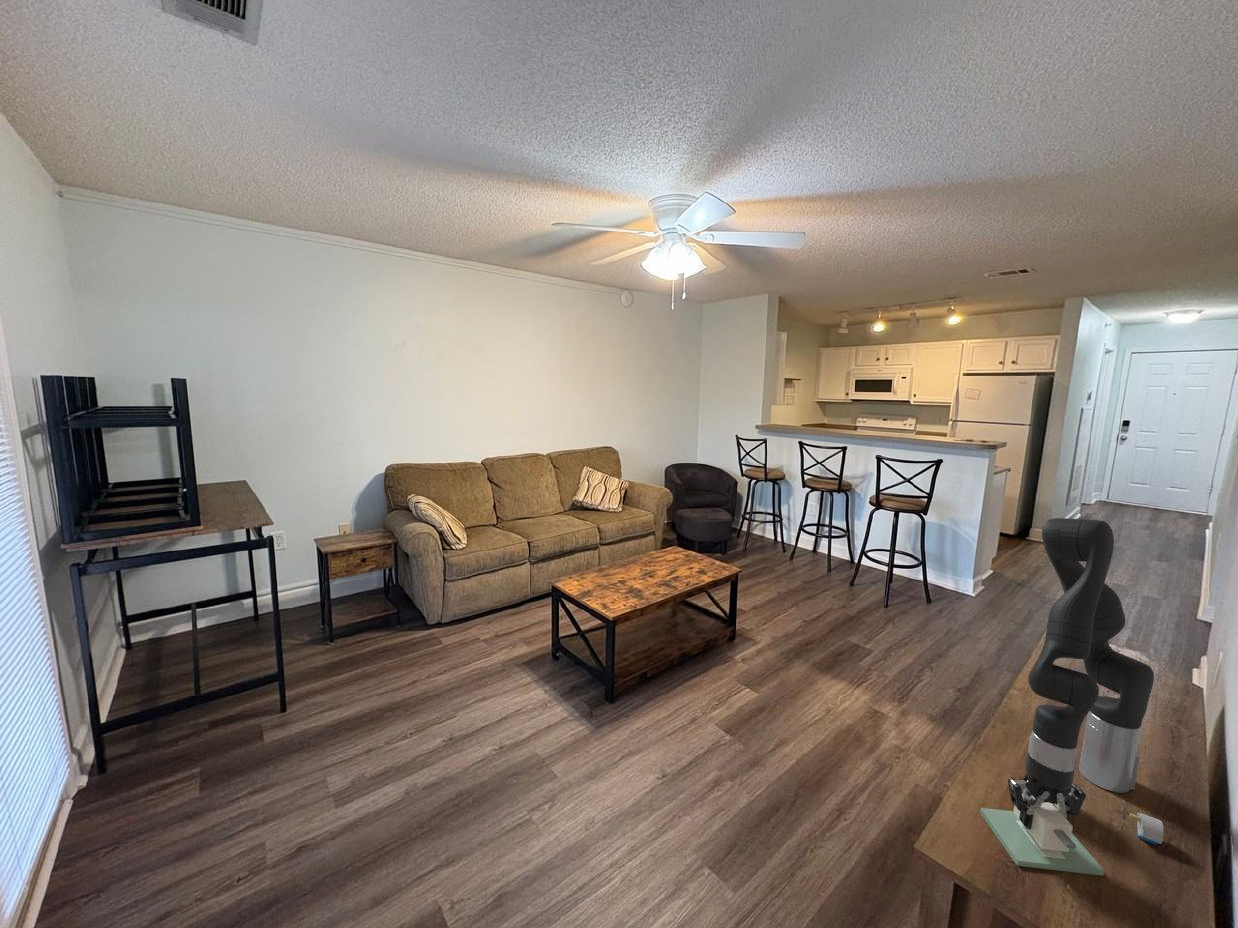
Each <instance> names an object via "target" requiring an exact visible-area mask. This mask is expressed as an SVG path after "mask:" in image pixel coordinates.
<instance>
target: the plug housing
mask: <svg viewBox="0 0 1238 928" xmlns="http://www.w3.org/2000/svg"><path fill="white" fill-rule="evenodd" d="M1025 789H1026V788H1024V790H1025ZM1022 796H1023V794H1022ZM1032 797H1033V796H1032ZM1033 798H1034V797H1033ZM1034 799H1035V798H1034ZM1013 805H1014V804H1013ZM1027 805H1029V802H1028V804H1027ZM1013 811H1014V813H1015V815H1016V816H1017V817H1018V819H1019V816H1020V811H1019V810H1018V809H1017V807H1016V806H1015V805H1014V807H1013ZM1032 815H1033V820H1032V827H1031V829H1027V830H1028V832H1029V833H1030V834H1031V835H1032V837H1033V838H1034V839H1035V841H1036V842H1037V843H1038V845H1039V846H1040V847H1041V848H1042V849H1048V850H1056V851H1064V852H1069V848H1073V849H1076V845H1075V844H1074V843H1073V841H1072V840H1071V835H1072V834H1073V830H1074V829H1073V827H1074V826H1073V825H1072V824H1071V822H1069V820H1068V819H1067V818H1065V817H1064V816H1063V815H1062V814H1061V813H1060V812H1059V811H1058V809H1057V808H1056V807H1055V806H1054V805H1053V804H1052V803H1049V802H1045V803H1042V805H1041V806H1040V808H1036V809H1035V810H1034V812H1033V814H1032ZM1019 820H1020V819H1019ZM1021 823H1022V822H1021Z"/></svg>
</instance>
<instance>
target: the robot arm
mask: <svg viewBox="0 0 1238 928" xmlns="http://www.w3.org/2000/svg"><path fill="white" fill-rule="evenodd" d="M1041 529H1042V530H1041V539H1042V544H1043V546H1044V549H1045V552H1046V555H1047V556H1048V559H1049V560H1050V563H1051V565H1052V567H1053V569H1054V570H1055V573H1056V575H1057V577H1058V580H1059V581H1060V585H1061V587H1062V590H1063V593H1064V594H1062V595H1061V596H1060V597H1059V598H1058V599H1057V600H1056V601H1055V602H1054V604H1053V605H1052V606H1051V609H1050V610H1049V612H1048V613H1049V614H1048V617H1047V623H1046V631H1045V637H1044V643H1043V646H1042V649H1041V651H1040V654H1039V656H1038V657H1037V659H1036V660H1035V662H1034V664H1033V666H1032V667H1031V670H1030V671H1029V673H1028V677H1027V680H1028V685H1029V687H1030V689H1031V690H1032V692H1033V693H1034V694H1035V695H1037V696H1039V697H1042V698H1046V699H1048V700H1051V701H1055V702H1058V703H1060V704H1064V705H1065V706H1064V705H1063V706H1062V705H1055V704H1054V705H1052V704H1040V705H1038V706H1037V707H1036V709H1035V712H1034V718H1033V722H1032V731H1031V734H1030V736H1029V740H1028V746H1027V752H1026V753H1027V754H1026V760H1025V775H1024V776H1023V777H1022V779H1020V780H1019V779H1018V780H1015V779H1014V778H1013V777H1008V779H1007V783H1008V790H1009V796H1010V802H1011V803H1012V804H1013V805H1015V806H1016V807H1017V809H1018V810H1019V811H1020V816H1019V819H1020V821H1021V822H1022V824H1023V825H1024V826H1025V828H1026V829H1031V827H1032V820H1033V815H1032V814H1033V812H1034V810H1035V809H1036V808H1040V806H1041V805H1042V803H1045V802H1049V803H1052V804H1053V805H1054V806H1055V807H1056V808H1057V809H1058V811H1059V812H1060V813H1061V814H1062V815H1063V816H1064V817H1065V818H1066V819H1067V818H1068V817H1069V816H1071V818H1072V817H1073V818H1076V817H1078V815H1079V812H1080V809H1081V808H1082V806H1083V803H1084V802H1085V799H1086V798H1087V794H1086V793H1085V792H1084V791H1083V790H1082V789H1081V788H1080V787H1079V786H1078V785H1077V783H1076V784H1075V783H1074V778H1075V777H1074V776H1075V771H1076V764H1077V759H1078V758H1077V757H1078V750H1077V749H1078V741H1079V735H1080V730H1081V726H1082V724H1083V723H1084V720H1085V719H1086V724H1085V727H1084V728H1085V729H1084V735H1083V740H1082V741H1083V742H1082V749H1081V754H1080V760H1079V765H1078V771H1079V772H1080V775H1082V777H1083V778H1085V779H1086V780H1087V781H1089V782H1090V783H1091V784H1094V785H1095V786H1097V787H1099V788H1102V789H1104V790H1105V791H1106V790H1107V791H1110V792H1113V793H1120V794H1124V793H1128V792H1129V791H1130V790H1133V791H1134V790H1136V789H1135V787H1136V782H1137V778H1138V772H1139V765H1140V760H1141V754H1140V753H1139V752H1138V751H1137V750H1138V745H1139V742H1140V734H1141V733H1140V732H1141V729H1142V724H1143V719H1144V718H1145V715H1146V712H1147V708H1148V704H1149V700H1150V697H1151V693H1152V690H1153V686H1154V681H1155V673H1154V671H1153V670H1154V669H1152V667H1151V666H1150V665H1148V664H1146V663H1145V662H1143V661H1140V660H1138V659H1135V658H1132V657H1130V656H1128V655H1125V654H1123V653H1121V652H1117V651H1115V650H1114V649H1113V648H1112V647H1111V646H1110V642H1109V641H1110V640H1111V639H1113V638H1114V637H1116V636H1117V635H1118V634H1119V633H1121V632H1122V630H1123V629H1124V627H1125V625H1126V616H1125V612H1124V609H1123V605H1122V602H1121V599H1120V597H1119V595H1118V594H1117V593H1116V592H1115V590H1114V589H1113V588H1111V587H1110V586H1109V585H1108V584H1107V583H1106V578H1107V574H1108V572H1109V569H1110V565H1111V561H1112V557H1113V553H1114V546H1115V544H1114V543H1115V537H1114V533H1113V530H1112V527H1111V525H1109V523H1108V522H1106V521H1104V520H1099V519H1086V518H1085V519H1083V518H1066V517H1065V518H1064V517H1063V518H1062V517H1061V518H1060V517H1059V518H1058V517H1056V518H1055V517H1054V518H1049V519H1048V520H1046V521H1045V522H1044V524H1043V525H1042V528H1041ZM1081 562H1086V564H1085V567H1084V566H1083V564H1081ZM1058 659H1072V660H1073V659H1075V660H1083V664H1084V668H1085V672H1086V673H1084V672H1081V671H1078V670H1075V669H1074V670H1073V669H1070V668H1067V667H1064V666H1061V665H1057V664H1054V662H1055V661H1056V660H1058ZM1098 685H1099V686H1101V687H1103V688H1106V689H1108V690H1110V691H1112V692H1115V693H1117V694H1118V695H1119V697H1118V698H1116V697H1113V696H1111V697H1110V696H1106V695H1105V696H1104V695H1099V694H1100V689H1099V686H1098ZM1024 789H1025V790H1024ZM1022 794H1023V796H1022ZM1032 796H1033V797H1034V798H1035V799H1034V798H1033V797H1032ZM1028 802H1029V805H1027V804H1028Z"/></svg>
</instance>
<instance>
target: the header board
mask: <svg viewBox="0 0 1238 928" xmlns="http://www.w3.org/2000/svg"><path fill="white" fill-rule="evenodd" d="M979 809H980V810H979V813H980V815H981V817H982V818H983V820H984V821H985V822H986V823H987V825H988V826H989V828H990V829H991V830H992V832H993V833H994V835H995V836H996V837H997V840H998V841H999V842H1000V844H1001V845H1002V846H1003V848H1004V849H1005V851H1006V852H1007V854H1008V855H1009V856H1010V858H1011V859H1012V861H1013V862H1014V863H1015V865H1016V866H1018V867H1026V868H1035V869H1042V870H1051V871H1060V872H1061V871H1062V872H1068V873H1077V874H1085V875H1093V876H1094V875H1095V876H1104V875H1105V869H1104V868H1103V867H1102V866H1101V865H1100V863H1099V862H1097V860H1096V859H1095V858H1094V857H1093V856H1092V854H1091V853H1090V852H1089V851H1088V849H1086V848H1085V846H1084V845H1083V844H1082V843H1081V842H1080V841H1079V840H1078V838H1077V837H1076V836H1075V835H1074V834H1073V833H1072V835H1071V840H1072V841H1073V843H1074V844H1075V845H1076V849H1073V848H1069V852H1064V851H1056V850H1048V849H1042V848H1041V847H1040V846H1039V845H1038V843H1037V842H1036V841H1035V839H1034V838H1033V837H1032V835H1031V834H1030V833H1029V832H1028V830H1027V829H1026V828H1025V826H1024V825H1023V824H1022V823H1021V821H1020V820H1019V819H1018V817H1017V816H1016V815H1015V813H1014V810H1003V809H994V808H987V807H986V808H985V807H980V808H979Z"/></svg>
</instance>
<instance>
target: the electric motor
mask: <svg viewBox="0 0 1238 928" xmlns="http://www.w3.org/2000/svg"><path fill="white" fill-rule="evenodd" d="M1129 818H1131V819H1134V820H1136V821H1137V822H1136V823H1137V824H1136V825H1137V827H1136V835H1137V838H1138V839H1140V840H1143V841H1145V842H1147V843H1150V844H1153V845H1155V846H1158V844H1160V845H1161V844H1162V843H1163V840H1164V833H1165V832H1164V831H1165V829H1164V825H1163V823H1164V822H1163V821H1162V820H1160V819H1158V818H1155V817H1152V816H1149V815H1148V814H1144V813H1142V812H1137V814H1136V815H1135V814H1134V813H1129Z"/></svg>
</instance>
